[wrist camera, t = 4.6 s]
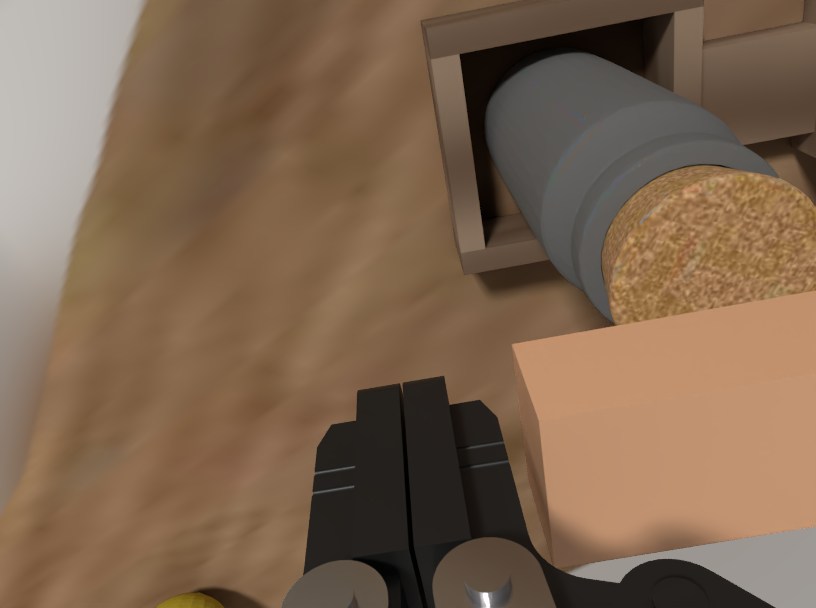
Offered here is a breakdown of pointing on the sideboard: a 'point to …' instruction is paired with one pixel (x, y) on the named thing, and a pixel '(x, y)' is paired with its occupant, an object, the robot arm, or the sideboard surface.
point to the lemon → (190, 601)
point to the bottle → (644, 191)
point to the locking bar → (672, 430)
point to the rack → (663, 65)
